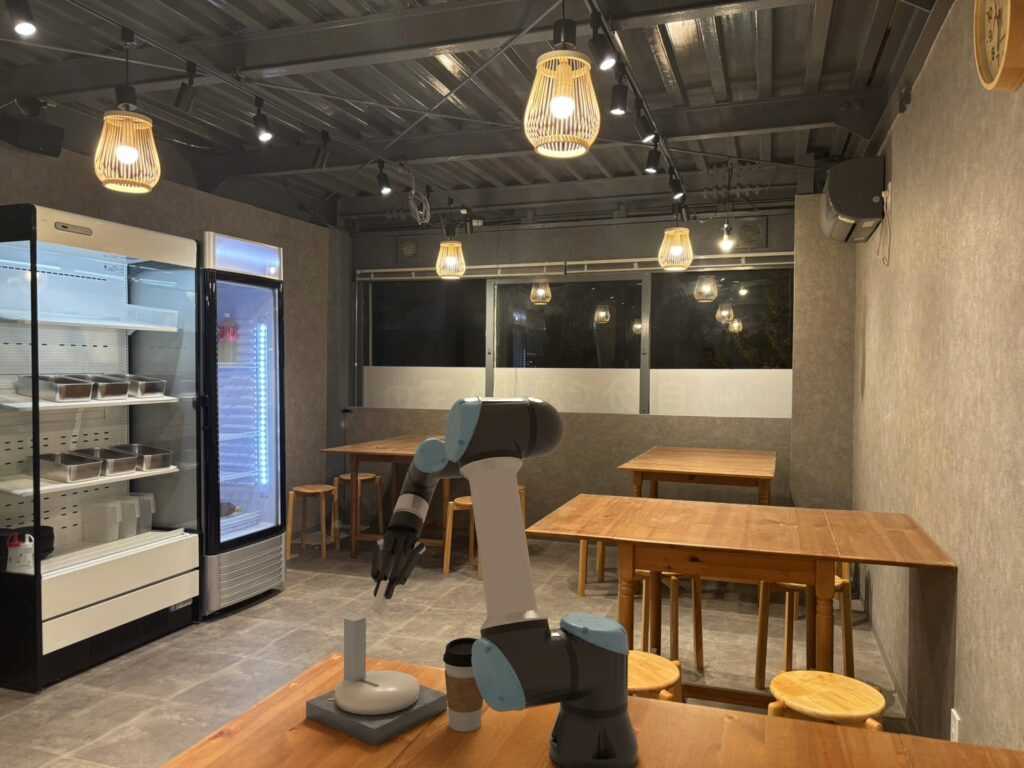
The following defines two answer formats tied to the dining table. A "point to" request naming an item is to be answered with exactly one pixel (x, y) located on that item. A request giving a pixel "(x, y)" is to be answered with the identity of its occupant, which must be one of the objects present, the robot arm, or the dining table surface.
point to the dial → (370, 678)
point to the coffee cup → (462, 686)
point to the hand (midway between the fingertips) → (377, 611)
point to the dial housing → (376, 716)
